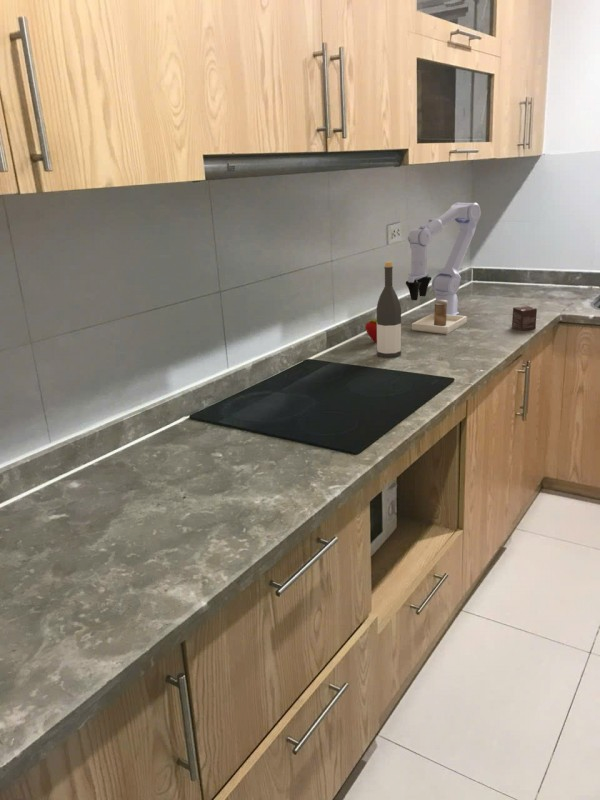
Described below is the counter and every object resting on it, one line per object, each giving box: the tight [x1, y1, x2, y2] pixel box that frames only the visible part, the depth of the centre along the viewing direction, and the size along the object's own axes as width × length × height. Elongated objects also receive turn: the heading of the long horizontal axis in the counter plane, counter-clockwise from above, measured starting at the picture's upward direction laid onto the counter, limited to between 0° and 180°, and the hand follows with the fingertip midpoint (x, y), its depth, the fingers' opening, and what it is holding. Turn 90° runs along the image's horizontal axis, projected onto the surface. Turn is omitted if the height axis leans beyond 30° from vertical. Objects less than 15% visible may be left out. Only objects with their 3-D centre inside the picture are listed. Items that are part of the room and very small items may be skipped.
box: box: [511, 305, 538, 331], centre depth 231 cm, size 6×6×7 cm
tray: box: [411, 312, 468, 335], centre depth 240 cm, size 18×14×2 cm
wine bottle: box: [376, 261, 402, 359], centre depth 205 cm, size 8×8×30 cm
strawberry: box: [364, 318, 377, 344], centre depth 223 cm, size 6×8×10 cm
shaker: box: [433, 299, 447, 326], centre depth 239 cm, size 5×5×9 cm
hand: (418, 298), depth 245 cm, fingers open, 7 cm apart
